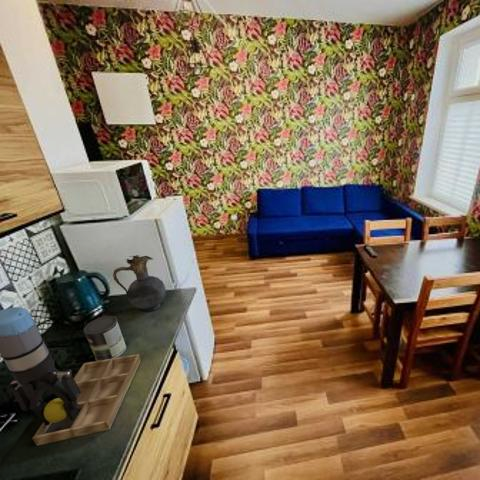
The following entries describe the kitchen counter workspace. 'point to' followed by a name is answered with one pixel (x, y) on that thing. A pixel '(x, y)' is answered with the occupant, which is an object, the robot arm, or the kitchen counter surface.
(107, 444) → the kitchen counter surface
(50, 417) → the lemon
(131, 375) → the wooden compartment tray
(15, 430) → the kitchen counter surface
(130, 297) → the pitcher
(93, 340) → the coffee can
